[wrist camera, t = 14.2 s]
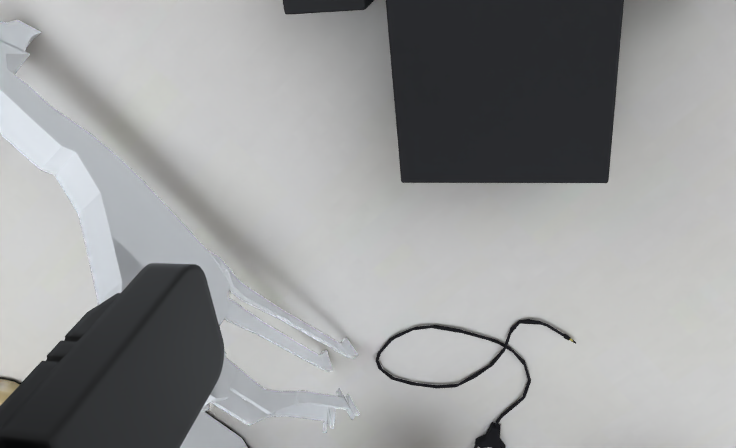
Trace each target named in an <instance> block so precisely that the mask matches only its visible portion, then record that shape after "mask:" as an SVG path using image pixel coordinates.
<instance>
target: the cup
mask: <svg viewBox="0 0 736 448" xmlns="http://www.w3.org/2000/svg"><path fill="white" fill-rule="evenodd" d="M180 448H248V447H247V446H246V444H245V442H244V441H243V439H242V438H241V437H240V436H238V435H237V434H236V433H234V432H233V431H231V430H230V429H228V428H227V427H225V426H224V425H223V424H221V423H220V422H218V421H217V420H215V419H214V418H212V417H211V416H210V415H208V414H207V413H205V412H202V413H199V415H198V416H197V418H196V420H195V422H194V423H193V425H192V427H191V429H190V431H189V432H188V434H187V436H186V438H185V439H184V441H183V443H182V445H181V446H180Z"/></svg>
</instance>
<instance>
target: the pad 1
mask: <svg viewBox="0 0 736 448" xmlns="http://www.w3.org/2000/svg"><path fill="white" fill-rule="evenodd" d="M373 1H374V0H283V5H284V11H285V14H304V13H320V12H336V11H352V10H364V9H366V8H367V7H368V6H369V5H370V4H371V3H372V2H373Z"/></svg>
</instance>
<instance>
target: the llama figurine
mask: <svg viewBox="0 0 736 448" xmlns="http://www.w3.org/2000/svg"><path fill="white" fill-rule="evenodd" d="M40 33H41V31H39V30H37V29H35V28H33V27H31V26H29V25H27V24H25V23H23V22H21V21H19V20H14V21H11V22H9V23H6V22H2V21H0V134H1V135H2V136H3V137H4V138H5V139H6V140H7V141H8V142H9V143H11V144H12V145H13V146H14V147H15V148H16V149H17V150H18V151H20V152H21V153H22V154H23V155H24V156H25V157H26V158H27V159H28V160H30V161H31V162H32V163H33V164H34V165H35V166H36V167H37V168H39V169H40V170H41V171H44V172H47V173H50V174H52V175H55V177H56V178H57V180H58V182H59V183H60V185H61V187H62V188H63V190H64V192H65V193H66V195H67V197H68V198H69V200H70V202H71V203H72V205H73V207H74V208H75V210H76V212H77V213H78V215H79V220H80V224H81V228H82V233H83V237H84V241H85V246H86V250H87V254H88V259H89V263H90V268H91V273H92V277H93V282H94V286H95V291H96V296H97V300H98V305H100V304H101V303H103V302H104V301H106V300H107V299H109V298H110V297H112V296H113V295H115V294H117V293H121V292H122V291H123V290H124V289H125V288H126V287H127V286H128V284H129V283H130V282H131V281H132V280H133V279H134V278H135V277H136V276H137V274H138V273H139V272H140V271H141V270H142V269H143V268H144V267H145V266H146V265H148V264H150V263H169V264H196V265H198V266H200V267H201V268H202V270H203V271H204V273H205V276H206V279H207V283H208V287H209V290H210V294H211V298H212V301H213V305H214V309H215V312H216V316H217V320H218V324H219V326H220V324H221V323H222V321H223V320H226V321H228V322H230V323H233V324H235V325H237V326H239V327H241V328H244V329H246V330H248V331H250V332H252V333H255V334H257V335H259V336H261V337H262V338H264V339H266V340H268V341H270V342H272V343H274V344H275V345H277V346H279V347H281V348H283V349H285V350H287V351H288V352H290V353H292V354H294V355H296V356H298V357H300V358H301V359H303V360H305V361H307V362H309V363H311V364H313V365H314V366H316V367H318V368H320V369H322V370H324V371H327V372H330V371H333V368H332V365H331V361H330V358H329V355H328V351H327V350H324V351H322V352H321V353H320V355H319V354H317V353H315V352H314V351H312V350H310V349H309V348H307V347H305V346H304V345H302V344H300V343H299V342H297V341H295V340H294V339H292V338H290V337H289V336H287V335H285V334H284V333H282V332H280V331H279V330H277V329H275V328H274V327H272V326H270V325H269V324H267V323H265V322H264V321H262V320H261V319H259V318H258V317H257V316H255V315H254V314H252V313H251V312H249V311H248V310H246V309H245V308H244V307H242V306H241V305H239V304H238V303H236V302H235V301H233V300H232V299H231V298H229V291H230V292H231V293H233V294H234V295H235V296H236V297H237V298H238V299H240V300H241V301H243V302H245V303H247V304H249V305H251V306H253V307H255V308H257V309H259V310H261V311H263V312H265V313H267V314H269V315H272V316H274V317H276V318H278V319H280V320H282V321H283V322H285V323H287V324H289V325H291V326H292V327H294V328H296V329H298V330H299V331H301V332H303V333H305V334H307V335H308V336H310V337H312V338H314V339H316V340H317V341H319V342H321V343H323V344H324V345H326V346H328V347H330V348H332V349H333V350H335V351H337V352H339V353H340V354H342V355H344V356H346V357H349V358H353V359H355V358H356V357H357V356H358V354H357V352H356V351H355V349H354V348H353V346H352V345H351V343H350V342H349V340H348V339H347V337H345V338H344V339H343V340H342V341H341V343H339V342H338V341H336V340H334V339H333V338H331V337H329V336H327V335H326V334H324V333H322V332H321V331H319V330H317V329H316V328H314V327H312V326H310V325H309V324H307V323H305V322H304V321H302V320H300V319H298V318H297V317H295V316H293V315H292V314H290V313H288V312H287V311H285V310H283V309H281V308H280V307H278V306H277V305H275V304H274V303H272V302H271V301H269V300H268V299H266V298H265V297H263V296H262V295H260V294H258V293H257V292H255V291H254V290H252V289H251V288H249V287H248V286H246V285H245V284H243V283H242V282H241V281H240V280H239V279H238V278H237V277H236V276H235V275H234V273H233V272H232V270H231V269H230V268H229V267H228V265H227V264H226V263H225V262H224V261H223V260H222V258H221V257H220V256H218V255H216V254H215V253H213V252H211V251H209V250H208V249H206V248H205V246H204V245H203V244H202V243H201V242H200V241H199V240H198V239H197V238H196V237H195V236H194V235H193V233H192V232H191V231H190V230H189V229H188V228H187V227H186V226H185V225H184V224H183V223H182V222H181V220H180V219H179V218H178V217H177V216H176V215H175V214H174V213H173V212H172V211H171V210H170V209H169V208H168V206H167V205H166V204H165V203H164V202H163V201H162V200H161V199H160V198H159V197H158V196H157V195H156V193H155V192H154V191H153V190H152V189H151V188H150V187H149V186H148V185H147V184H146V183H145V182H144V181H143V179H142V178H141V177H139V176H138V175H137V174H136V173H135V172H134V171H133V170H132V169H131V168H130V167H129V166H128V165H127V164H126V163H125V162H123V161H122V160H121V159H120V158H119V157H118V156H117V155H116V154H115V153H114V152H112V151H111V150H110V149H109V148H108V147H106V146H105V145H104V144H103V143H102V142H100V141H99V140H98V139H97V138H96V137H95V136H93V135H92V134H91V133H90V132H88V131H87V130H85V129H84V128H82V127H81V126H80V125H78V124H77V123H75V122H74V121H72V120H71V119H69V118H68V117H67V116H65V115H64V114H62V113H61V112H59V111H58V110H57V109H55V108H54V107H52V106H51V105H50V104H49V103H48V102H47V101H46V100H44V99H43V98H42V97H41V96H40V95H39V94H38V93H37V92H36V91H35V90H34V89H33V88H31V87H30V86H29V85H28V84H27V83H25V82H24V81H23V80H21V79H20V78H19V77H17V76H16V75H15V73H16V72H17V71H18V69H19V68H20V67H21V65H22V64H23V63H24V62H25V60H26V59H27V58H28V56H29V55H30V53H27V52H25V50H26V48H27V47H28V45H29V44H30V43H31V41H32V40H33V39H34V37H36V36H37V35H39V34H40ZM336 393H337V395H338V396H333V395H327V394H322V393H316V392H310V391H304V390H301V391H276V390H270V389H264V388H263V387H262V386H261V385H260V384H258V383H257V382H256V381H255V380H253V379H252V378H251V377H250V376H249V375H247V374H246V373H245V372H244V371H242V370H241V369H240V368H239V367H238V366H236V365H235V364H234V363H233V362H231V361H230V360H229V359H228V358H226V352H225V351H224V361H223V367H222V371H221V374H220V377H219V379H218V381H217V383H216V385H215V387H214V388H213V390H212V392H211V394H210V395H209V397H208V399H207V401H206V402H205V404H204V406H203V408H202V409H201V411H200V413H202V412H205V411H207V410H209V403H212V404H214V405H215V406H217V407H219V408H220V409H222V410H224V411H225V412H227V413H229V414H230V415H232V416H233V417H235V418H237V419H238V420H240V421H242V422H243V423H245V424H247V425H248V426H250V425H252V424H254V423H256V422H258V421H261V420H263V419H265V418H269V417H273V416H274V417H280V416H289V417H296V418H304V419H312V420H319V421H324V422H323V433H327V424H328V425H329V427H330V428H333V429H334V421H335V410H336V408H337V409H344V410H346V411H347V412H348V414H349V416H350V418H351V420H352V419H353V418H354V417H355V415H356V416H358V415H359V414H360V413H359V411H358V410H357V408H356V406H355V404H354V403H353V401H352V399H351V397H350V396H349V394H347V395H346V396H344V395H343V393H342V391H341V390H340V388H339V389H338V390H337V391H336ZM241 397H242V398H241ZM244 399H245V400H244Z"/></svg>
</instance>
